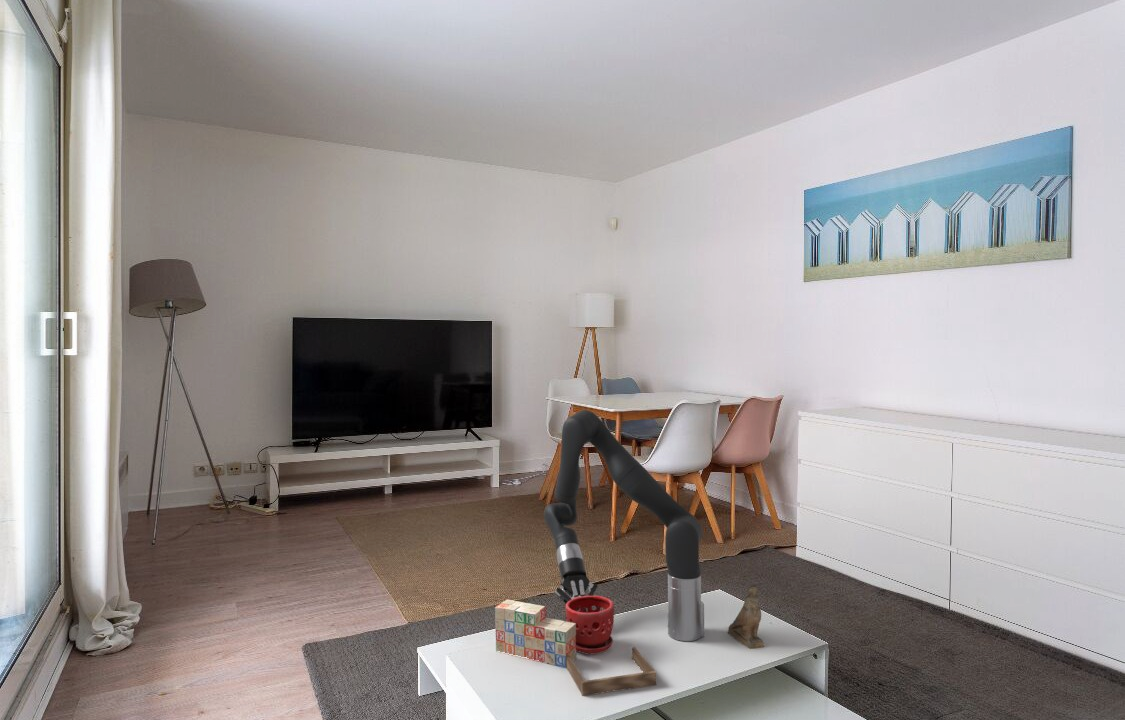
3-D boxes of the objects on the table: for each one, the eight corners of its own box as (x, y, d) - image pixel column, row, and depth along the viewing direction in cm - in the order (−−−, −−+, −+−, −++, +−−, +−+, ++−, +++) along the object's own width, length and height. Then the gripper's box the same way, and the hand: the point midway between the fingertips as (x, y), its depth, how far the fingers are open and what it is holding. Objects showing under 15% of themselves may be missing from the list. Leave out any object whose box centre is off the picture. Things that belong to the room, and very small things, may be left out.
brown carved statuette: (763, 655, 179) (772, 595, 175) (745, 657, 178) (753, 597, 174) (742, 628, 190) (750, 572, 186) (725, 630, 189) (732, 573, 185)
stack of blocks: (576, 658, 173) (576, 611, 173) (565, 668, 167) (565, 620, 167) (507, 642, 183) (507, 598, 183) (495, 651, 177) (494, 606, 177)
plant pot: (595, 632, 188) (595, 591, 188) (623, 650, 177) (623, 605, 177) (556, 643, 181) (556, 600, 181) (583, 662, 170) (583, 616, 170)
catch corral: (634, 658, 173) (634, 646, 173) (656, 684, 159) (656, 672, 159) (566, 667, 168) (566, 655, 168) (582, 695, 154) (582, 682, 154)
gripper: (551, 558, 194) (562, 616, 182) (594, 554, 197) (607, 610, 185) (547, 570, 199) (557, 627, 187) (589, 566, 202) (602, 622, 190)
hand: (582, 619), depth 186 cm, fingers closed
